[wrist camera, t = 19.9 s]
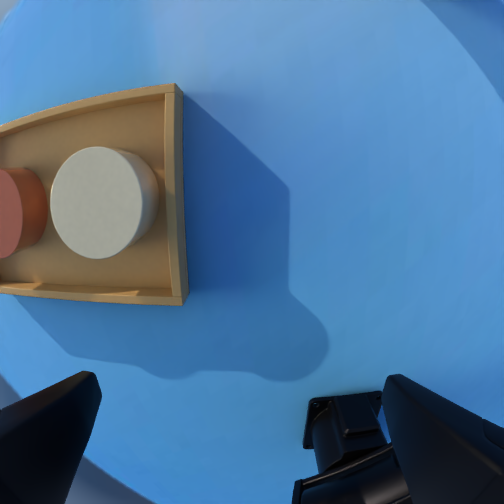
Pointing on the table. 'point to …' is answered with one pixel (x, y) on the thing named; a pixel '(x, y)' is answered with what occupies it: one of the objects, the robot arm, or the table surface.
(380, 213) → the table surface
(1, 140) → the serving tray
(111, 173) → the white short cylinder
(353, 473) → the robot arm
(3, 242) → the reddish-brown short cylinder
